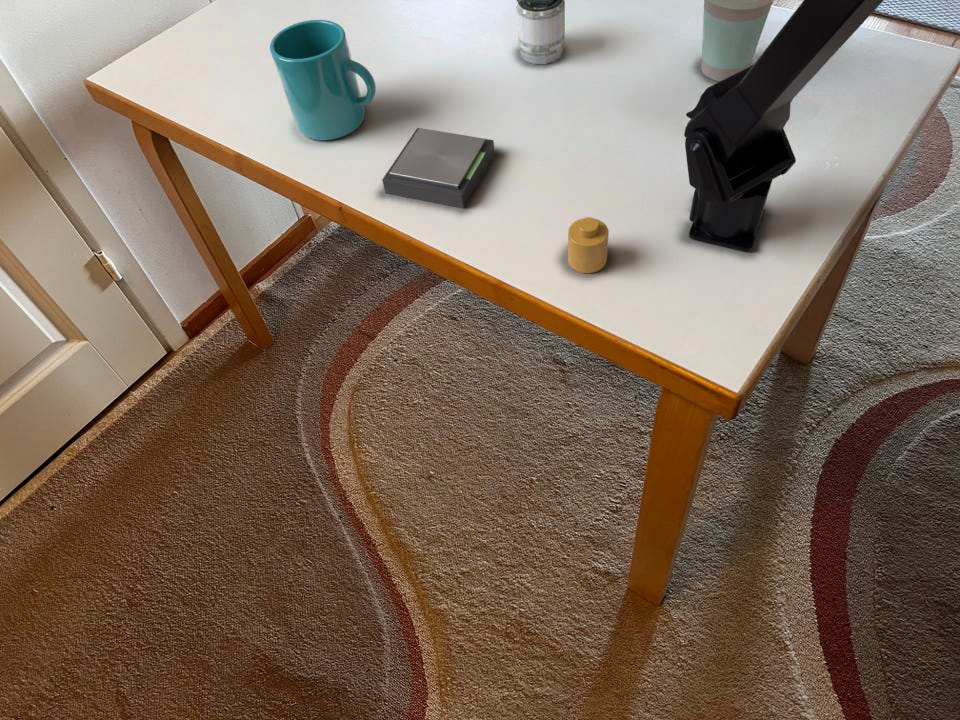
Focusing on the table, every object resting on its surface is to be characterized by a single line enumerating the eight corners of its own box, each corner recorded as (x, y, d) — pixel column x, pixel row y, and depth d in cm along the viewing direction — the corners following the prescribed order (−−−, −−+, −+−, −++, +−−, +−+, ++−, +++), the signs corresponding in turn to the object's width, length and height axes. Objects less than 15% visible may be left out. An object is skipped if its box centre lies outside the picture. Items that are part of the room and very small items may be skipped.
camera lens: (565, 64, 96) (566, 6, 90) (519, 67, 96) (515, 10, 90) (563, 38, 100) (563, -19, 93) (518, 42, 100) (515, -15, 94)
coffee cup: (737, 44, 95) (756, -51, 85) (772, 77, 90) (797, -20, 80) (678, 60, 94) (691, -34, 84) (710, 95, 89) (728, -1, 79)
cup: (370, 149, 89) (349, 66, 80) (285, 138, 92) (255, 57, 83) (397, 106, 94) (379, 23, 85) (315, 97, 97) (290, 16, 88)
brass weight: (612, 251, 75) (614, 215, 71) (599, 277, 73) (601, 242, 69) (575, 242, 76) (576, 206, 72) (562, 268, 74) (562, 232, 70)
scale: (495, 153, 86) (493, 135, 84) (463, 208, 81) (461, 190, 79) (420, 141, 89) (416, 123, 87) (385, 193, 84) (380, 175, 82)
